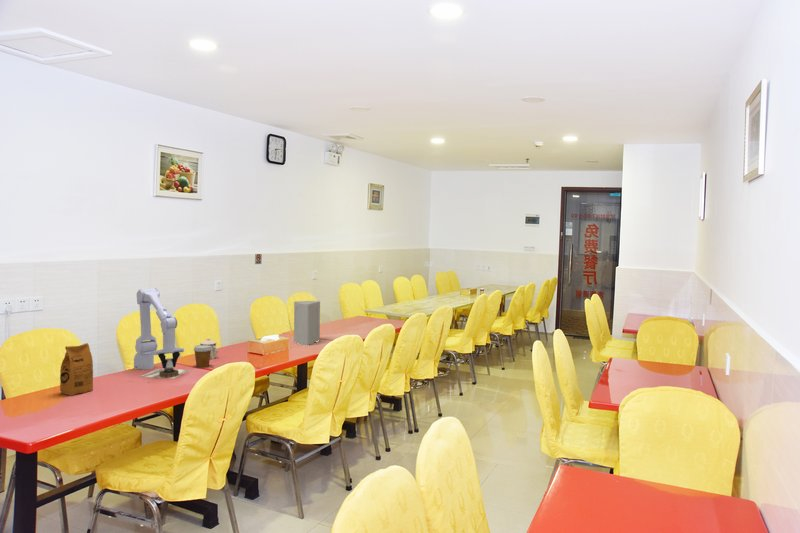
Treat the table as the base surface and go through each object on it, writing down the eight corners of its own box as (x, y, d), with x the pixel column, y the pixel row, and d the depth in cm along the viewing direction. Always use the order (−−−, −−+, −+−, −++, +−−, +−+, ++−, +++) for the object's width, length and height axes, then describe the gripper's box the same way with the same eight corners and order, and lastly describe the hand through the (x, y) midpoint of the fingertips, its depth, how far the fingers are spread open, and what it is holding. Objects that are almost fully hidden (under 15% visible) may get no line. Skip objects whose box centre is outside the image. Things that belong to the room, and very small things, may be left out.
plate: (139, 378, 293) (139, 376, 293) (158, 370, 310) (158, 368, 310) (173, 380, 290) (173, 378, 290) (190, 372, 308) (190, 370, 308)
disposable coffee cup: (214, 366, 322) (214, 345, 322) (207, 370, 313) (207, 348, 312) (198, 365, 323) (198, 344, 322) (190, 369, 314) (190, 347, 313)
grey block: (300, 339, 407) (301, 300, 406) (319, 341, 403) (320, 301, 402) (287, 344, 389) (288, 303, 388) (307, 346, 385) (308, 304, 383)
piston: (162, 371, 294) (162, 359, 294) (167, 369, 298) (167, 358, 298) (170, 371, 293) (170, 360, 293) (175, 369, 298) (175, 358, 298)
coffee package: (57, 393, 264) (56, 345, 263) (83, 387, 274) (83, 341, 273) (69, 396, 259) (68, 348, 257) (96, 390, 269) (95, 344, 268)
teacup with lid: (196, 358, 341) (196, 338, 340) (208, 355, 349) (208, 336, 349) (212, 360, 336) (212, 340, 335) (223, 357, 344) (223, 338, 343)
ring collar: (156, 377, 292) (155, 373, 292) (165, 373, 301) (165, 369, 301) (172, 378, 291) (172, 374, 291) (181, 373, 300) (181, 370, 300)
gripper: (156, 343, 287) (156, 370, 288) (185, 341, 296) (185, 367, 297) (152, 341, 293) (152, 368, 294) (181, 338, 302) (181, 364, 303)
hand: (169, 367), depth 296 cm, fingers closed on piston, 4 cm apart
